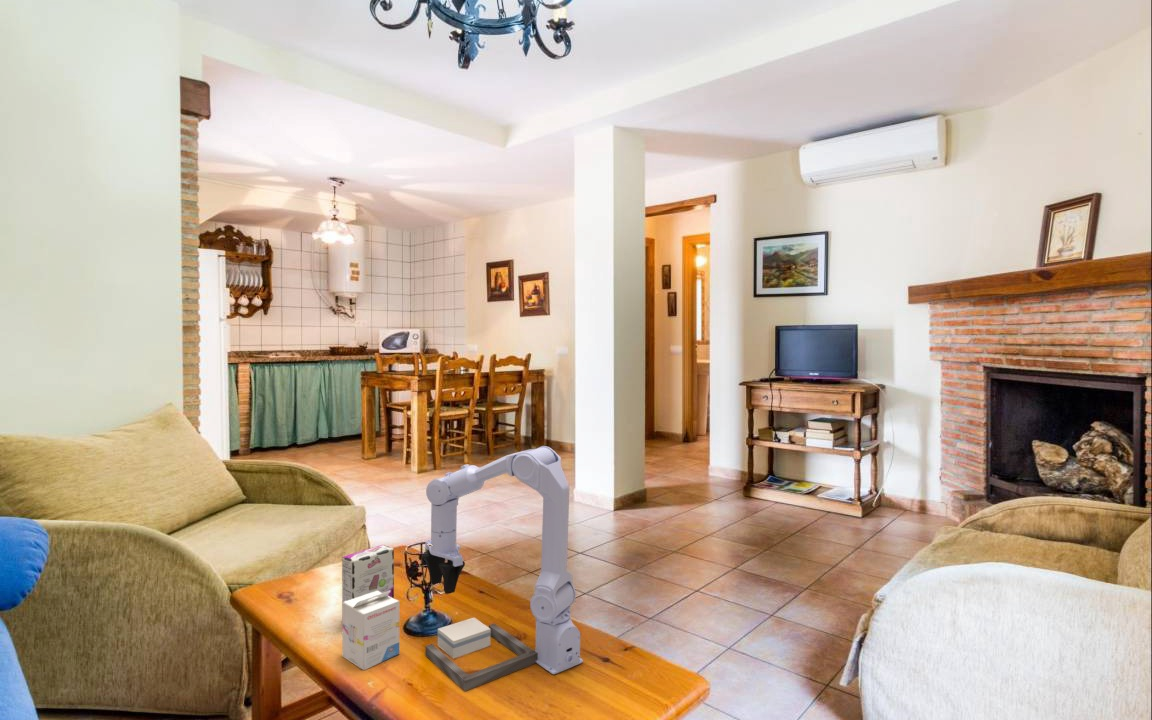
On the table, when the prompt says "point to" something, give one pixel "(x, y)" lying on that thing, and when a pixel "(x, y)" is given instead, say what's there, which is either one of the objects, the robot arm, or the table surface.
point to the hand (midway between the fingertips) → (442, 588)
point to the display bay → (490, 673)
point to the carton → (463, 637)
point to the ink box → (370, 629)
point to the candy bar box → (368, 573)
